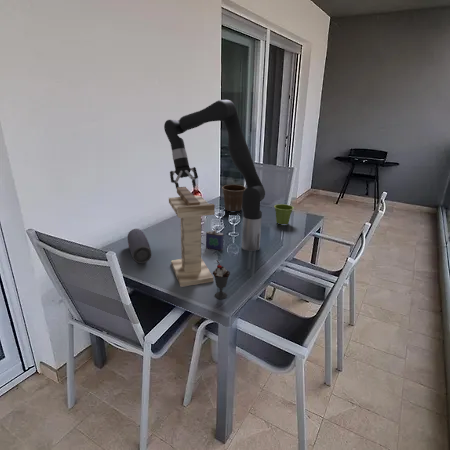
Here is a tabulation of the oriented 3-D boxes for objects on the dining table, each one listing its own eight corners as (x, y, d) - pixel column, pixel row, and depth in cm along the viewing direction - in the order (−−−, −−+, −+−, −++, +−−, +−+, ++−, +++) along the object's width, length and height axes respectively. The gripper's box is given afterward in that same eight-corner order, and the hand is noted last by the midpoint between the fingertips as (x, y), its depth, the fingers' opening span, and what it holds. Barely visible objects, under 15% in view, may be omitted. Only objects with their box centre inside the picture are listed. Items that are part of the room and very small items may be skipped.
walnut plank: (176, 192, 142) (176, 187, 141) (185, 192, 143) (185, 186, 142) (189, 209, 121) (189, 203, 120) (199, 208, 122) (199, 202, 121)
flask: (223, 249, 162) (224, 229, 158) (222, 251, 160) (222, 232, 156) (206, 246, 164) (206, 227, 161) (204, 249, 162) (204, 229, 158)
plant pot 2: (294, 223, 200) (296, 206, 196) (287, 228, 191) (289, 211, 186) (277, 219, 206) (278, 202, 202) (269, 224, 196) (271, 207, 192)
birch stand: (171, 264, 146) (168, 193, 133) (200, 260, 150) (200, 191, 138) (180, 287, 128) (178, 207, 116) (213, 281, 133) (214, 204, 120)
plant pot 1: (242, 214, 212) (243, 191, 206) (219, 212, 215) (219, 189, 209) (246, 207, 226) (247, 185, 221) (224, 205, 230) (225, 183, 224)
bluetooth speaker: (127, 246, 162) (125, 228, 158) (145, 244, 165) (144, 226, 162) (132, 267, 142) (130, 247, 139) (153, 264, 146) (152, 244, 142)
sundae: (211, 290, 126) (212, 257, 121) (228, 290, 127) (229, 257, 121) (212, 300, 120) (213, 266, 115) (230, 300, 121) (231, 265, 115)
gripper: (167, 159, 161) (174, 190, 162) (194, 155, 165) (200, 185, 166) (166, 161, 168) (172, 191, 169) (191, 157, 172) (197, 187, 174)
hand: (186, 188), depth 168 cm, fingers open, 8 cm apart
